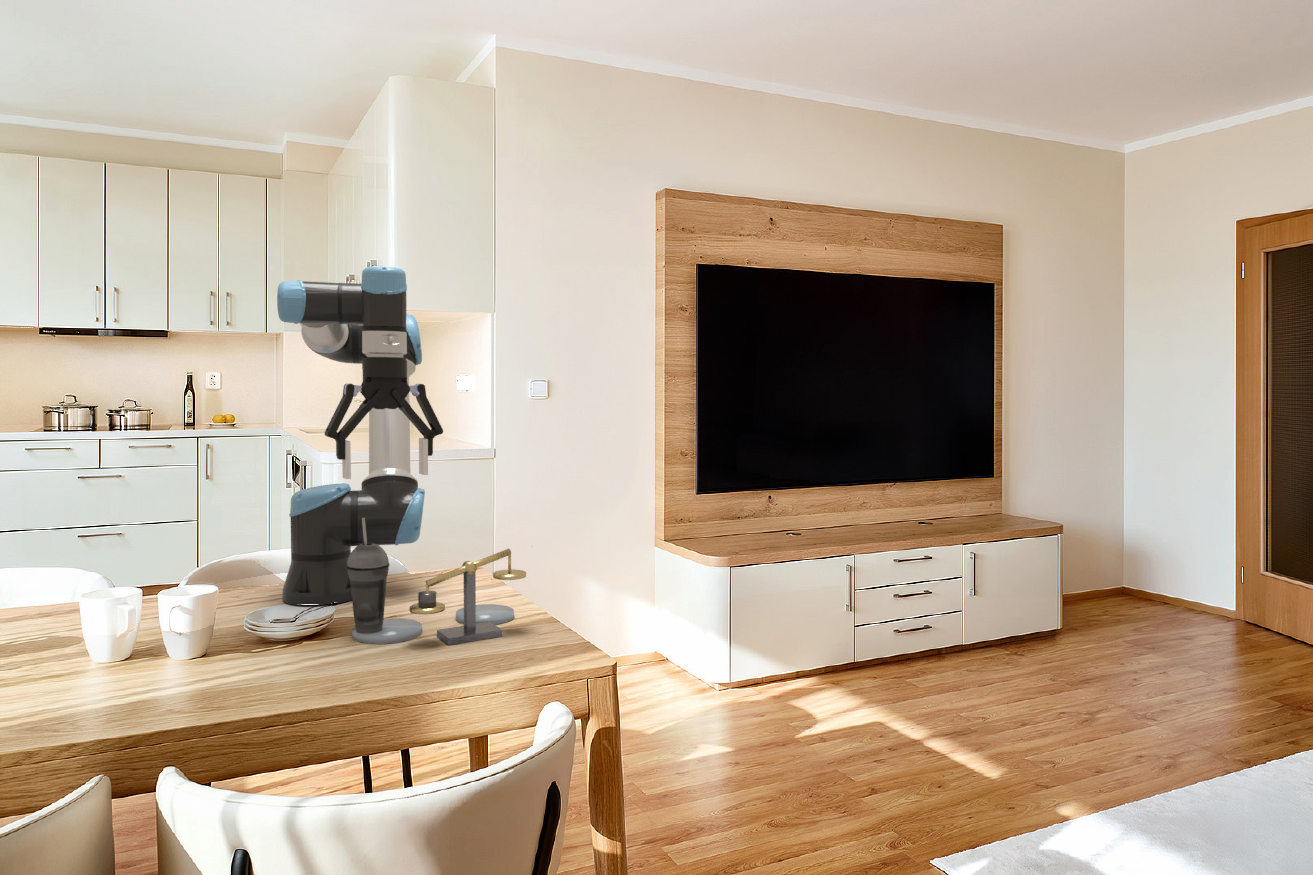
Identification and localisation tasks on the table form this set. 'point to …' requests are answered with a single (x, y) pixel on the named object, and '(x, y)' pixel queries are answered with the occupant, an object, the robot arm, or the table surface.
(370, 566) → the beverage cup
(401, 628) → the grey flat disc
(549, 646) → the table surface
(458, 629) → the balance
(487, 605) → the dish light side
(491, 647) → the table surface
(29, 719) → the table surface
